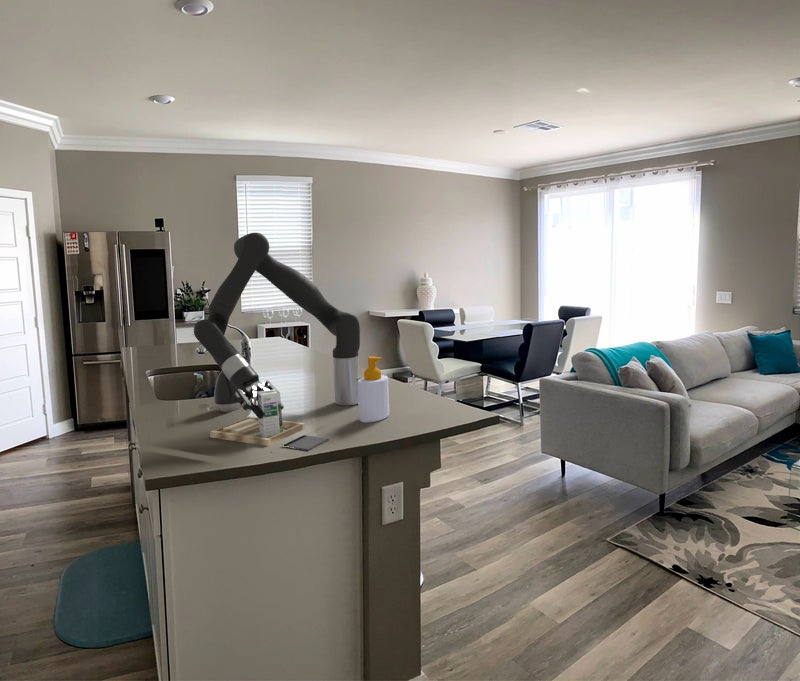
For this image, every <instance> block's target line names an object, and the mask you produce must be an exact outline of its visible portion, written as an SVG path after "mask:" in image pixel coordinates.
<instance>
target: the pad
mask: <svg viewBox="0 0 800 681" xmlns="http://www.w3.org/2000/svg"><path fill="white" fill-rule="evenodd" d="M327 440H328V441H329V440H330V439H329V438H328V437H322V436H321V437H320V436H313V435H312V436H311V435H306V434H303V435H301V436H298V437H296V438H295V439H293V440H291V441H288V442H287V443H285V444H283V445H284V446H289V447H294V448H298V449H297V450H299V449H303V450H302V451H306V450H308V452H309V451H311V450H313V449H315V448H317V447H319V446H320V444H321V445H322V444H324V443H326V442H328V441H327ZM325 441H326V442H325ZM323 442H324V443H323ZM318 445H319V446H318ZM316 446H317V447H316ZM314 447H315V448H314ZM312 448H313V449H312ZM310 449H311V450H310Z"/></svg>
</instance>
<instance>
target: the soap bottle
mask: <svg viewBox="0 0 800 681" xmlns="http://www.w3.org/2000/svg"><path fill="white" fill-rule="evenodd" d="M379 361H383V357H379V356H367V366H368V367H367V368H366V369H365V370H364V372H363V377H362V378H360V380H358V382H357V388H358V404H357V405H358V420H359V421H360V423H367V424H368V423H369V424H370V423H374V422H379V421H382V420H384V419H386V418H388V417H389V415H390V393H389V392H390V391H389V377H388V376H387V375H384V374H382V370H381V369H380V368H378V367H377V362H379Z"/></svg>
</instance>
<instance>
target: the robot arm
mask: <svg viewBox="0 0 800 681" xmlns="http://www.w3.org/2000/svg"><path fill="white" fill-rule="evenodd" d="M233 251H234V254H235V256H236V258H237V261H236V263H235V265H234V266H233V268H232V269H231V271H230V272H229V274H227V277H226V278H225V279H224V280H223V282H222V283H221V285H220V286H219V287H218V288H217V290H216V292H215V294H214V296H213V298H212V300H211V301H210V304H209V306H208V317H207V319H200V320H198V321H197V322H196V323H195V324H194V327H193V333H194V334H193V335H194V337H195V339H197V341H198V342H199V343H200V344H201V346H203V348H204V349H205V350H206V351H207V352H208V353H209V354H210V356H211V357H212V359H213V360H214V362H215V363H216V364H217V365H218V367H219V368H220V369H221V371H223V372H224V374H225V375H226V377H227V378H228V379H229V381H230V382H231V383H232V384H233V386H234V387H235V388H236V389H237V392H236V393H235V394H234V396H235V398H236V399H237V401H238V402H239V403H240V405H241V408H242V409H243V410H245V411H247V410H249V411H251V412H253V413H254V415H255V417H258V418H259V419H262V418H263V417H264V416H265V413H264V412H263V411H262V409H261V408H260V407H259V406H258V404H257V399H258V395H257V392H260V391H267V390H273V389H276V390H278V389H277V388H276V387H275V386H274V384H273V383H272V382H271V381H270V380H268V379H267V380H266V381H265V382H261V381H260V376H259V375H258V373H257V372H256V371H255V370H254V368H253V367H252V366H251V364H250V363H249V362H248V360H246V358H244V357H243V356H242V355H241V354H240V352H239V351H238V350H237V349H236V347H235V346H234V345H233V344H231V342H230V341H228V339H227V337H226V336H225V334H226V331H227V327H228V325H229V320H230V317H231V315H232V313H233V312H234V310H235V309H236V308H235V307H236V306H237V304H238V301H239V300H240V298H241V295H242V294H243V292H244V290H245V288H246V287H247V285H248V284H249V281H250V280H251V278H252V277H253V275H254V273H255V272H257V273H259V274H260V275H261V276H262V277H264V278H265V279H266V280H268V282H269V283H271V285H273V286H274V287H275V288H276V289H278V290H279V291H280V292H282V293H283V294H284V295H285V296H286V297H287V298H288V299H290V300H291V301H292V302H294V303H295V304H296V305H297V306H299V307H300V308H301V309H303V310H304V311H305V312H307V313H309V314H310V315H312V316H313V317H315V318H316V320H318V321H319V322H320V323H321V324H322V326H324V327H325V328H326V329H327V330H328V331H329V333H331V334H332V335H333V336H335V341H336V342H335V347H334V348H333V349H332V365H333V366H332V367H333V384H334V385H333V386H334V388H333V389H334V403H335V405H338V406H355V405H358V388H357V382H358V380H360V379H361V378H360V365H359V364H360V362H359V350H360V347H361V327H360V321H359V319H358V317H357V316H356V315H355V314H354V313H351V312H346V311H345V312H344V311H341V310H340V309H338V308H337V307H336V306H334V305H333V304H331V302H329V301H328V300H327V299H326V298H325V297H324V295H323V294H322V292H321V291H320V290H319V288H318V287H317V285H316V284H315V283H313V281H311V280H310V279H309V278H308V277H306V276H305V274H303V273H301V272H300V271H298V270H297V269H295V268H293V267H291V266H289V265H287V264H285V263H282V262H280V261H279V260H277V259H275V258H274V257H273V256H271V255H270V253H269V252H270V242H269V240H268V238H267V237H266V236H265V235H264V234H262V233H260V232H250V233H247V234H245V235H243V236H240V237H239V238H238V239H237V240H235V243H234V245H233ZM284 407H285V406H284V404H283V403H282V402H281V411H282V410H284Z"/></svg>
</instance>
